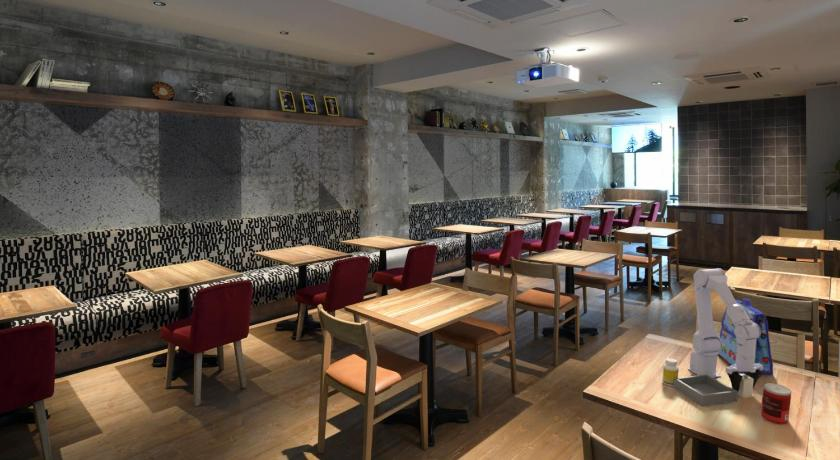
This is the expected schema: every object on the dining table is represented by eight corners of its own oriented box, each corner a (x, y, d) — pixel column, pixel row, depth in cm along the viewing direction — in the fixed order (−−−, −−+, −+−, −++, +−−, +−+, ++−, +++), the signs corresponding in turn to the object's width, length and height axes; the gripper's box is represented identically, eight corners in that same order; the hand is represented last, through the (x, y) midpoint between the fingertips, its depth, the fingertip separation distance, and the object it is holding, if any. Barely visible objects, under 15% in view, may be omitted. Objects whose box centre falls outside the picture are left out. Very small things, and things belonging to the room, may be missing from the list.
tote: (673, 387, 189) (674, 378, 188) (705, 383, 192) (706, 374, 191) (702, 406, 175) (703, 395, 174) (736, 401, 177) (737, 391, 177)
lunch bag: (715, 353, 221) (719, 292, 217) (747, 354, 219) (752, 292, 215) (739, 374, 200) (744, 306, 196) (775, 375, 198) (781, 307, 194)
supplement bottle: (679, 387, 189) (680, 363, 188) (664, 386, 190) (665, 362, 189) (675, 380, 195) (676, 357, 193) (660, 379, 196) (661, 356, 194)
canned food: (783, 414, 168) (786, 384, 167) (792, 426, 161) (795, 395, 159) (757, 411, 171) (760, 381, 169) (765, 422, 163) (768, 392, 162)
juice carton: (732, 392, 185) (734, 372, 184) (741, 390, 186) (743, 371, 184) (743, 397, 180) (744, 377, 179) (752, 396, 181) (753, 376, 180)
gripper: (738, 361, 175) (735, 396, 177) (771, 357, 178) (768, 392, 180) (722, 353, 182) (719, 387, 184) (754, 350, 185) (751, 383, 187)
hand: (742, 389), depth 183 cm, fingers open, 6 cm apart
